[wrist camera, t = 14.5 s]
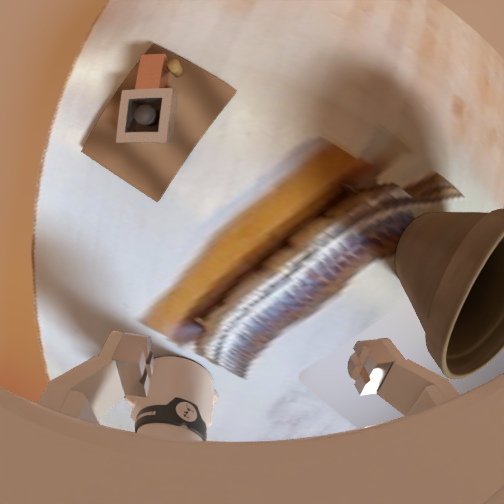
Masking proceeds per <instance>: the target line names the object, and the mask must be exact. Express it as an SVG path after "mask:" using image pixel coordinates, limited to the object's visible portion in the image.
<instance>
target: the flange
mask: <svg viewBox="0 0 504 504" xmlns="http://www.w3.org/2000/svg"><path fill="white" fill-rule="evenodd" d="M168 61H169V59H168V58H167V56H166V54H148V55H141V59H140V64H139V69H138V74H137V80H136V86H135V89H133V90H122V94H121V101H120V108H119V117H118V126H117V136H116V143H173V137H174V127H175V119H176V110H177V103H178V94H177V92H176V91H175V90H174V89H173V88H167V84H168V78H169V72H170V69H169V68H168V66H167V63H168ZM155 103H162V104H161V112H160V120H159V129H158V132H136V123H137V121H136V120H135V117H134V114H135V111H136V109H137V108H138V107H139V104H155Z"/></svg>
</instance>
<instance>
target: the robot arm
mask: <svg viewBox="0 0 504 504" xmlns="http://www.w3.org/2000/svg"><path fill="white" fill-rule="evenodd" d="M151 346H152V342H151V337H150V336H146V335H139V334H133V333H127V332H120V331H114V330H113V331H112V332H111V333H110V335H109V337H108V338H107V340H106V342H105V344H104V346H103V348H102V350H101V352H100V354H99V356H98V357H95V356H94V357H93V358H91V359H89V360H87V361H86V362H84V363H82V364H80V365H78V366H77V367H75V368H73V369H71V370H69V371H68V372H66V373H64V374H62V375H60V376H59V377H57V378H55V379H53V380H51V381H50V382H49V383H48V385H47V387H46V389H45V390H44V392H43V394H42V396H41V398H40V400H39V402H38V404H36V403H33V402H31V401H29V400H26V399H24V398H22V397H20V396H18V395H15V394H13V393H11V392H9V391H7V390H5V389H3V388H1V387H0V504H504V373H503V374H501V375H499V376H497V377H495V378H494V379H492V380H490V381H488V382H487V383H485V384H483V385H481V386H479V387H477V388H475V389H473V390H471V391H468V392H466V393H464V394H462V395H460V394H459V393H458V392H457V391H456V389H455V388H454V387H453V386H452V384H451V383H450V382H449V380H448V379H446V378H444V377H442V376H440V375H438V374H436V373H434V372H432V371H430V370H428V369H426V368H424V367H422V366H420V365H418V364H416V363H414V362H412V361H411V360H409V359H408V360H406V359H405V358H404V357H403V355H402V354H401V353H400V352H399V350H398V349H397V348H396V346H395V345H394V344H393V343H392V341H391V340H390V339H388V338H381V339H374V340H364V341H357V342H356V344H355V346H354V348H353V349H354V351H355V353H354V354H352V355H351V356H350V358H349V361H348V372H349V375H350V377H351V378H353V379H354V380H356V381H355V384H354V385H355V387H356V389H357V390H358V392H359V394H360V395H366V394H372V393H377V394H378V395H379V396H380V397H381V398H383V399H384V400H385V401H386V402H388V403H389V404H391V405H392V406H393V407H394V408H396V409H397V410H398V411H400V412H401V413H402V414H403V415H405V417H401V418H398V419H395V420H391V421H388V422H384V423H380V424H377V425H373V426H368V427H364V428H360V429H355V430H350V431H345V432H340V433H334V434H328V435H322V436H315V437H307V438H299V439H289V440H277V441H258V442H217V441H206V439H207V431H206V429H207V428H208V427H209V426H211V424H212V416H213V406H214V404H215V403H217V402H218V401H219V395H218V394H217V392H216V391H215V390H214V382H213V379H212V377H211V375H210V374H209V372H208V371H207V370H206V369H205V368H203V367H202V366H201V365H199V364H197V363H195V362H193V361H191V360H188V359H185V358H180V357H172V356H166V357H159V358H155V359H154V357H153V353H152V352H151V351H150V349H151ZM125 395H126V396H125ZM124 396H125V401H126V402H127V403H128V404H129V405H130V406H131V407H132V412H131V418H132V419H133V420H134V421H135V432H130V431H125V430H120V429H115V428H111V427H107V426H103V425H100V424H99V422H98V420H99V419H100V418H101V417H102V416H103V415H104V414H106V413H107V412H108V411H109V410H110V409H111V408H112V407H113V406H114V405H116V404H117V403H118V402H119V401H120V400H121V399H122V398H123V397H124Z"/></svg>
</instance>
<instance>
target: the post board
mask: <svg viewBox="0 0 504 504" xmlns="http://www.w3.org/2000/svg"><path fill="white" fill-rule="evenodd" d="M148 54H166V56H167V58H168V59H169V61H168V63H167V66H168V68H169V69H170V72H169V78H168V84H167V88H173V89H174V90H175V91H176V92H177V94H178V103H177V110H176V119H175V127H174V137H173V143H116V136H117V126H118V117H119V108H120V101H121V94H122V90H133V89H135V86H136V80H137V74H138V69H139V64H140V60H139V62H138V63H137V64H136V66H135V67H134V68H133V69H132V71H131V72H130V73H129V75H128V76H127V78H126V79H125V80H124V82H123V83H122V85H121V86H120V87H119V89H118V90H117V92H116V93H115V95H114V96H113V98H112V99H111V101H110V102H109V104H108V105H107V107H106V109H105V110H104V112H103V114H102V115H101V117H100V118H99V120H98V122H97V124H96V125H95V127H94V129H93V131H92V132H91V134H90V136H89V138H88V140H87V141H86V143H85V145H84V147H83V149H82V151H81V152H83V153H84V154H86V155H87V156H89V157H90V158H92V159H93V160H95V161H96V162H97V163H99V164H100V165H102V166H103V167H105V168H106V169H108V170H109V171H111V172H112V173H114V174H115V175H117V176H118V177H120V178H121V179H123V180H124V181H126V182H127V183H129V184H130V185H132V186H133V187H135V188H136V189H138V190H139V191H141V192H142V193H144V194H145V195H147V196H148V197H150V198H152V199H153V200H155V201H156V202H158V201H159V200H160V199H161V197H162V196H163V194H164V192H165V191H166V189H167V188H168V186H169V184H170V183H171V181H172V180H173V178H174V177H175V175H176V174H177V172H178V171H179V169H180V168H181V166H182V165H183V163H184V162H185V160H186V159H187V157H188V156H189V154H190V153H191V152H192V150H193V149H194V147H195V146H196V145H197V143H198V142H199V140H200V139H201V138H202V136H203V135H204V133H205V132H206V131H207V129H208V128H209V127H210V125H211V124H212V123H213V121H214V120H215V119H216V118H217V116H218V115H219V114H220V112H221V111H222V110H223V109H224V107H225V106H226V105H227V104H228V102H229V101H230V100H231V99H232V97H233V96H234V95H235V94H236V91H237V90H235V89H234V88H232V87H231V86H229V85H228V84H226V83H224V82H223V81H221V80H220V79H218V78H216V77H215V76H213V75H211V74H210V73H208V72H206V71H205V70H203V69H201V68H199V67H198V66H196V65H194V64H192V63H191V62H189V61H187V60H185V59H183V58H181V57H180V56H178V55H176V54H174V53H172V52H170V51H168V50H166V49H164V48H162V47H160V46H158V45H156V44H153V45H152V46H151V47H150V48H149V49H148V51H147V52H146V53H145V54H144V55H148ZM161 104H162V103H155V104H139V107H138V108H137V109H136V111H135V114H134V117H135V120H136V121H137V123H136V132H158V129H159V120H160V112H161Z"/></svg>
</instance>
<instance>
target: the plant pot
mask: <svg viewBox="0 0 504 504" xmlns="http://www.w3.org/2000/svg"><path fill="white" fill-rule="evenodd" d="M395 267H396V272H397V275H398V277H399V280H400V282H401V284H402V286H403V288H404V290H405V292H406V294H407V296H408V298H409V300H410V302H411V303H412V306H413V308H414V310H415V312H416V314H417V316H418V318H419V320H420V322H421V325H422V327H423V329H424V331H425V333H426V336H425V337H426V345H427V349H428V351H429V353H430V354H431V356H432V357H433V359H434V360H435V362H436V363H437V365H438V366H439V367H440V369H441V370H442V372H443V374H444V375H445V376H446V377H448V378H450V379H461V378H465V377H467V376H469V375H472V374H473V373H475V372H477V371H479V370H480V369H482V368H483V367H484V366H486V365H487V364H488V363H489V362H490V361H491V360H492V359H494V358H495V357H496V355H498V354H499V353H500V351H501V350H502V349H503V348H504V209H497V210H494V211H492V212H490V213H481V212H437V213H426V214H423V215H421V216H419V217H417V218H416V219H414V220H413V221H412V222H411V223H410V224H409V225H408V226H407V227H406V229H405V230H404V232H403V234H402V236H401V238H400V240H399V243H398V245H397V250H396V255H395Z"/></svg>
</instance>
